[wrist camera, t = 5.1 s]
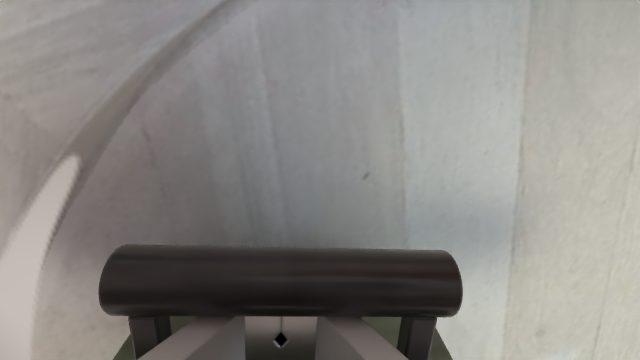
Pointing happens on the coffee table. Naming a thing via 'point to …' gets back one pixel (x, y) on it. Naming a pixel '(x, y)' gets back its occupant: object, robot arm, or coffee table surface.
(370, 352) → the robot arm
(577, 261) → the coffee table surface
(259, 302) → the drawer
